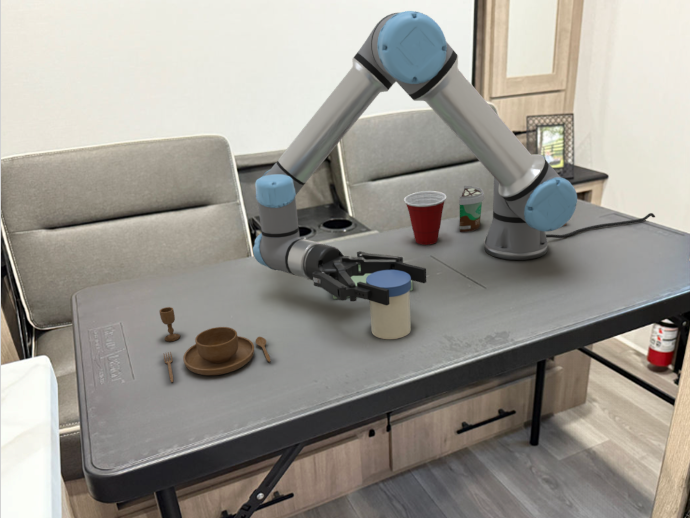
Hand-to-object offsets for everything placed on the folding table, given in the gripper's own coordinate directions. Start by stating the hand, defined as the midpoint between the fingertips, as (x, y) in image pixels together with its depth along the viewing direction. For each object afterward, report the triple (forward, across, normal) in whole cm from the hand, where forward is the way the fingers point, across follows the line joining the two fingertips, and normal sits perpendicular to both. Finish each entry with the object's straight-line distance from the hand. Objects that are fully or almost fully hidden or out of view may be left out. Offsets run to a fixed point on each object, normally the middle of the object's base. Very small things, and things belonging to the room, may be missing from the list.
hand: (407, 286), depth 107 cm
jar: (-4, 0, -10) cm, 11 cm away
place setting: (-26, +24, -10) cm, 36 cm away
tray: (-22, -16, -10) cm, 29 cm away
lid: (-4, 0, 0) cm, 4 cm away
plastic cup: (-26, -44, -10) cm, 52 cm away
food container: (-22, -60, -10) cm, 65 cm away
